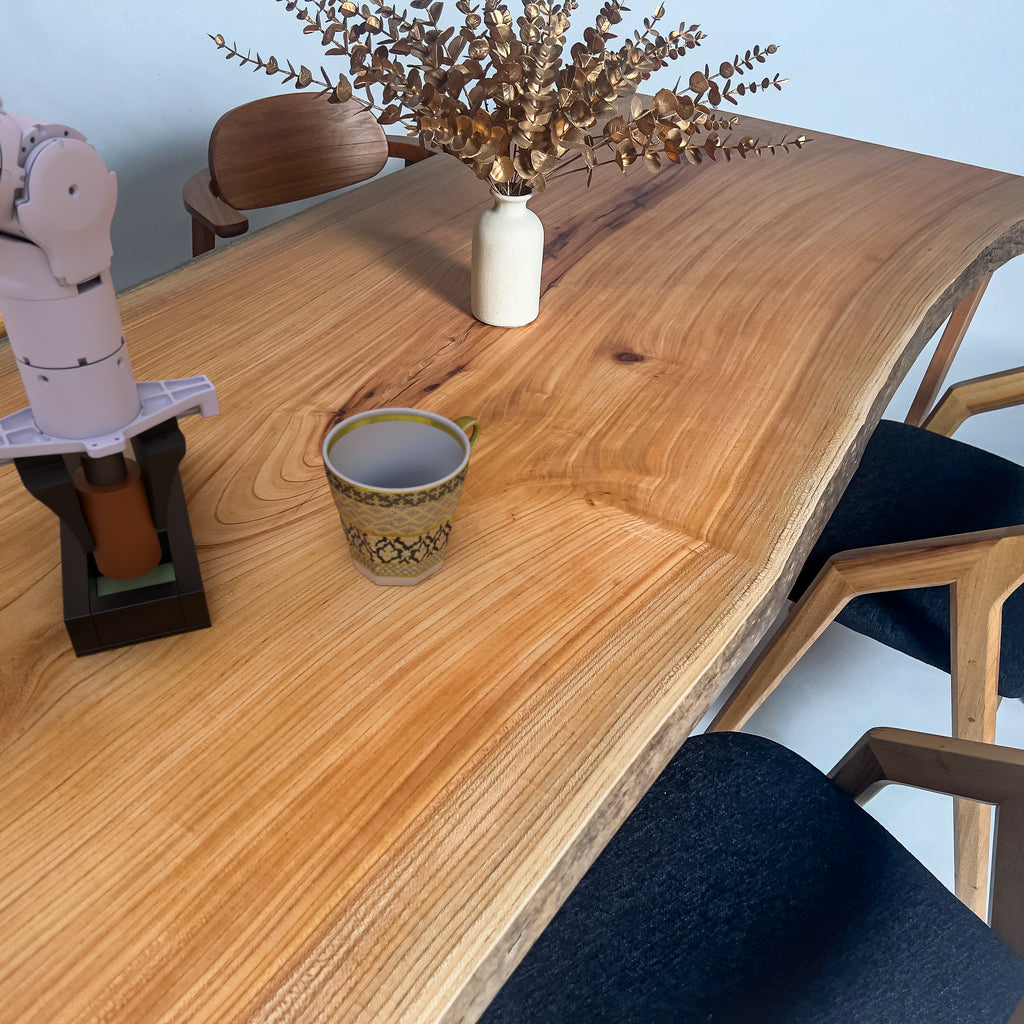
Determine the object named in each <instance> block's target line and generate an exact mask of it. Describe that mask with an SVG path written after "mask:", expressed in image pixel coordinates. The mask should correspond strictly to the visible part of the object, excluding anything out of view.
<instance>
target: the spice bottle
mask: <svg viewBox="0 0 1024 1024" xmlns="http://www.w3.org/2000/svg"><path fill="white" fill-rule="evenodd" d="M78 454H79V457H80V461H81V464H82V466H81V467H80V468H78V469H77V470H76V472H75V473H74V474H73V477H72V479H73V481H74V485H75V490H76V494H77V498H78V502H79V506H80V510H81V513H82V516H83V519H84V521H85V524H86V526H87V528H88V531H89V533H90V535H91V537H92V540H93V543H94V547H95V551H93V553H94V557H95V560H96V563H97V566H98V569H99V571H100V572H101V573H102V574H103V575H104V576H106V577H108V578H111V579H116V580H127V579H133V578H137V577H140V576H143V575H145V574H147V573H149V572H150V571H152V570H153V569H154V568H155V567H156V566H157V565H158V564H159V562H160V560H161V556H162V553H161V548H160V544H159V540H158V536H157V532H156V528H155V524H154V520H153V516H152V512H151V507H150V503H149V499H148V495H147V491H146V487H145V483H144V478H143V474H142V470H141V467H140V465H139V464H138V463H137V462H136V461H134V460H132V459H129V458H126V457H124V455H123V451H121V452H118V453H115V454H111V455H108V456H104V457H100V458H92V457H90V456H89V455H88V453H87V452H78Z"/></svg>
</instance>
